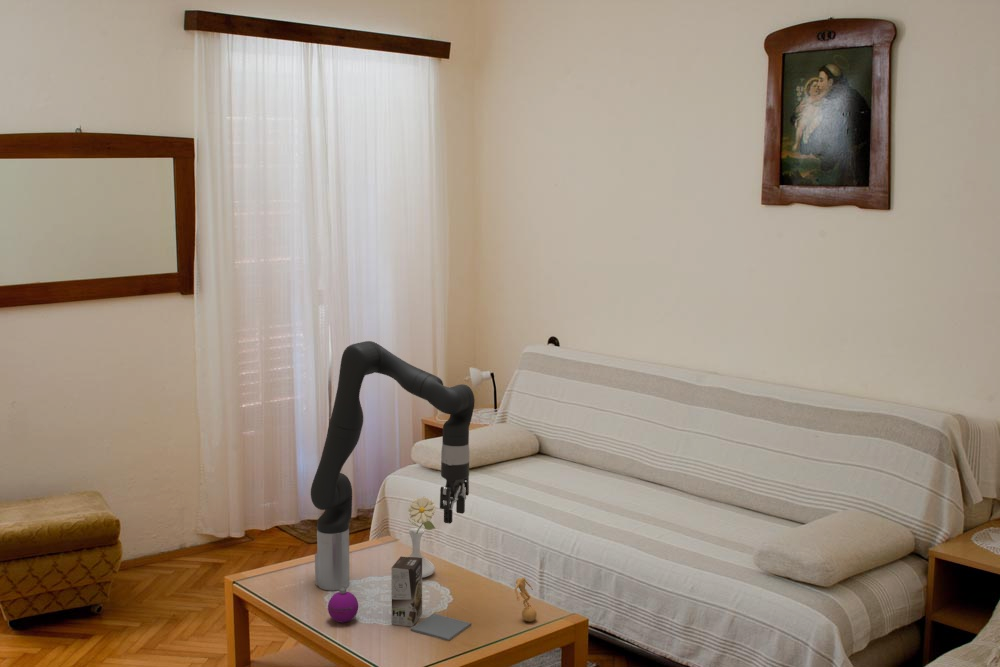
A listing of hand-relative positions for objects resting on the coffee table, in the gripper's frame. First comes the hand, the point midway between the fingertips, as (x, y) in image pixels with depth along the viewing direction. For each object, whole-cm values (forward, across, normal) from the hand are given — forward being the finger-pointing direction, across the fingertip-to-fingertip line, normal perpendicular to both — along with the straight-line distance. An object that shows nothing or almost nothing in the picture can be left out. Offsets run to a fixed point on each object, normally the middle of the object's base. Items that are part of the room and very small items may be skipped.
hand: (454, 517), depth 270 cm
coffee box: (+29, +6, -11) cm, 31 cm away
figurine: (+28, -5, +19) cm, 35 cm away
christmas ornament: (+29, +14, -26) cm, 41 cm away
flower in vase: (+29, -23, -21) cm, 43 cm away
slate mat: (+28, +8, 0) cm, 29 cm away
